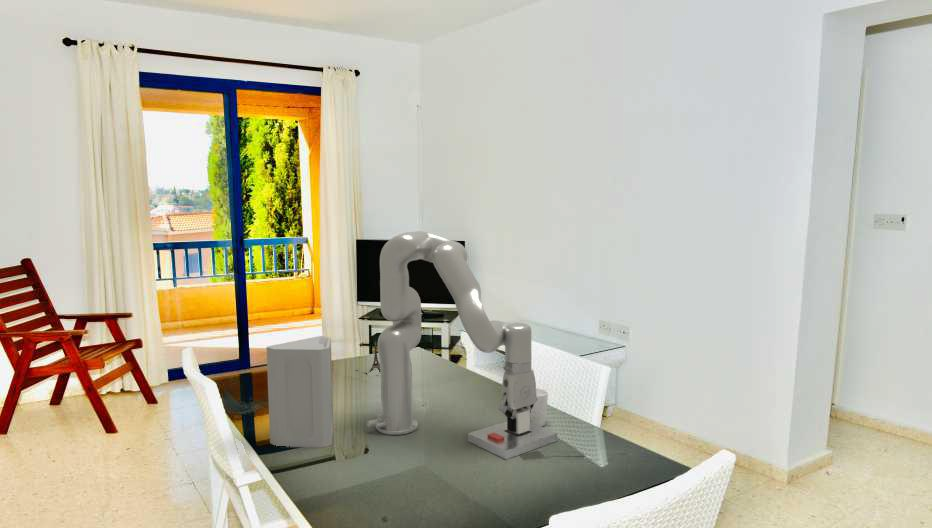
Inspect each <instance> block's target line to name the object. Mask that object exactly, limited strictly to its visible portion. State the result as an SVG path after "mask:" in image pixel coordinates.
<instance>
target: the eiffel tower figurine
mask: <svg viewBox="0 0 932 528" xmlns="http://www.w3.org/2000/svg"><path fill="white" fill-rule="evenodd" d="M372 369H378V370H379V372H380V361H379V357H378V348H377V342H376V340H375V342H374V358H373V363H372V365H371V367H370V370H369V372H371V371H372Z"/></svg>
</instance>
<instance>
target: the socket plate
mask: <svg viewBox="0 0 932 528" xmlns="http://www.w3.org/2000/svg"><path fill="white" fill-rule="evenodd" d="M558 434H559V433H558V432H557V431H554V430H551V429H549V428H546V427H544V426H539V425H536V424H534V423H531V422H530V430H529V431H526V432H523V433H520V434H517V433H514V432H512V431H509V430H508V429H507V421H504V422H501V423H497V424H493V425H491V426H488V427H487V426H486V427H484V428H480V429H477V430H474V431H471V432H469V433H467V435H468V436H467V440H468V441H467V442H469V443H471V444H472V445H475V446H477V447H479V448H480V449H484V450H485V451H487V452H490V453H491V454H493V455H496V456H498V457H500V458H502V459H504V460H509V459H511V458H514V457H517V456H520V455H522V454H525V453H528V452H530V451H534V450H537V449H539V448H542V447H544V446H547V445H550V444H553V443H555V442H558Z"/></svg>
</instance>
